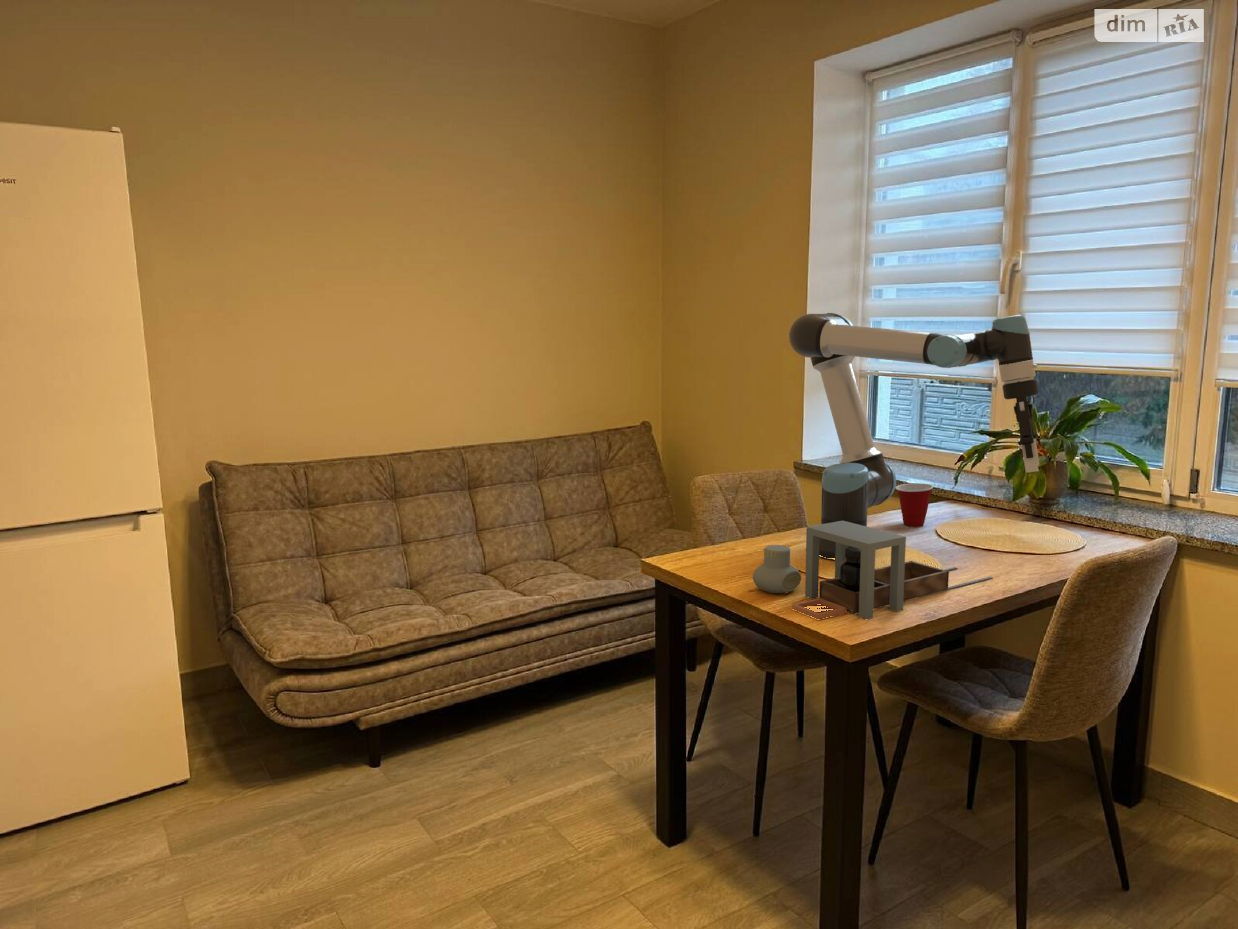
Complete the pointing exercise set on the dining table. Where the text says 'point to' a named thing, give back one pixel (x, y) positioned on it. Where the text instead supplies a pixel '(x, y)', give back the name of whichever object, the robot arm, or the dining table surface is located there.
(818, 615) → the frame
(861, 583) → the tunnel
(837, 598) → the divided wooden tray
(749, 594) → the dining table surface
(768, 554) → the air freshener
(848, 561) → the supplement bottle
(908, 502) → the plastic cup
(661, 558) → the dining table surface
